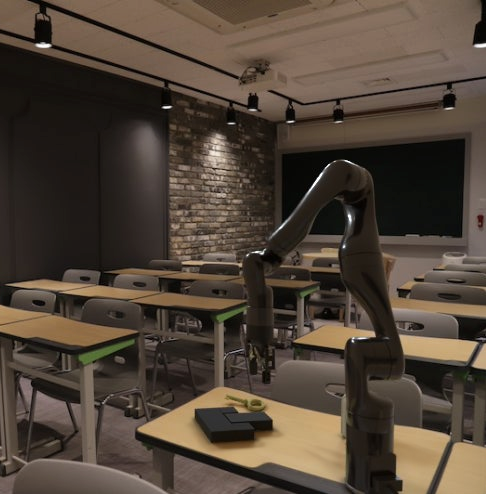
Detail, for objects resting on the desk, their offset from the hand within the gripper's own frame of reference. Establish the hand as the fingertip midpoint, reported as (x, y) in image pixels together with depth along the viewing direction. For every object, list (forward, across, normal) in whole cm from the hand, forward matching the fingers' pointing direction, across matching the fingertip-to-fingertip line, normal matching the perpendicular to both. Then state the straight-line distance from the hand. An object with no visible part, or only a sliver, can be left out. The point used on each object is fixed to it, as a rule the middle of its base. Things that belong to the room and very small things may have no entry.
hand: (259, 379), depth 138 cm
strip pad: (+14, 0, +3) cm, 14 cm away
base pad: (+14, 0, +11) cm, 17 cm away
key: (+14, +16, -3) cm, 21 cm away
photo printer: (+14, -8, -24) cm, 29 cm away
